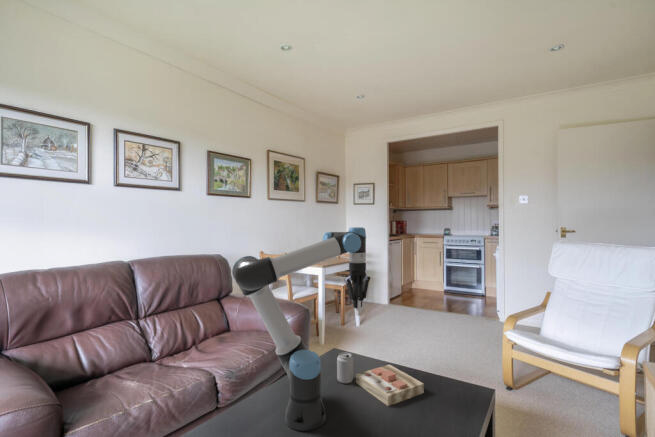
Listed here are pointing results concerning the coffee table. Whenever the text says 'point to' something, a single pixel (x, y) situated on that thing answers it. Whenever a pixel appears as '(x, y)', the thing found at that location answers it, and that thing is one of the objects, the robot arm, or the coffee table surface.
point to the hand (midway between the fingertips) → (357, 315)
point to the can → (345, 368)
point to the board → (389, 386)
